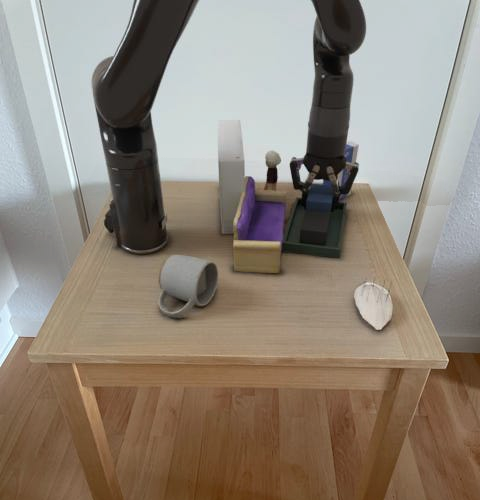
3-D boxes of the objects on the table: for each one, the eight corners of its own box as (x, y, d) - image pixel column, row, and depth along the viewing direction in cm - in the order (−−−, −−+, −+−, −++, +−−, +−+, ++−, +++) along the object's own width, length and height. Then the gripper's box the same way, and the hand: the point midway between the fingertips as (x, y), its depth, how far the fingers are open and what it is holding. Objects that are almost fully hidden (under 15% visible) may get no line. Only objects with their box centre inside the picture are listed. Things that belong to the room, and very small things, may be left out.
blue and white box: (330, 204, 111) (337, 152, 103) (320, 200, 112) (326, 148, 104) (351, 193, 115) (360, 142, 107) (342, 189, 116) (349, 139, 108)
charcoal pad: (324, 250, 96) (326, 232, 93) (298, 247, 97) (300, 229, 94) (328, 229, 102) (330, 212, 99) (304, 226, 102) (305, 209, 100)
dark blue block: (329, 221, 101) (331, 203, 98) (304, 218, 102) (306, 200, 99) (332, 202, 107) (334, 185, 104) (309, 200, 107) (311, 183, 105)
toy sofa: (279, 276, 90) (282, 227, 83) (232, 273, 91) (232, 224, 84) (285, 219, 106) (288, 174, 99) (245, 217, 107) (245, 172, 100)
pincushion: (396, 333, 79) (404, 305, 75) (358, 331, 79) (364, 304, 75) (383, 287, 88) (390, 260, 84) (349, 286, 88) (354, 260, 84)
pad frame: (338, 258, 94) (340, 249, 93) (281, 251, 96) (281, 242, 95) (345, 210, 109) (346, 202, 107) (295, 205, 110) (296, 196, 109)
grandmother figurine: (261, 198, 113) (263, 144, 104) (278, 198, 113) (281, 144, 104) (261, 215, 107) (262, 159, 99) (278, 215, 107) (282, 159, 99)
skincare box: (218, 187, 117) (217, 119, 106) (241, 187, 117) (242, 119, 106) (219, 234, 101) (218, 159, 90) (245, 234, 101) (248, 159, 91)
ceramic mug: (180, 277, 90) (176, 242, 85) (220, 289, 87) (218, 253, 82) (147, 312, 83) (141, 276, 78) (190, 326, 80) (185, 289, 75)
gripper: (367, 123, 94) (354, 204, 105) (293, 118, 97) (288, 197, 108) (366, 138, 89) (352, 221, 100) (287, 132, 91) (282, 213, 102)
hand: (319, 208), depth 104 cm, fingers closed on dark blue block, 5 cm apart
